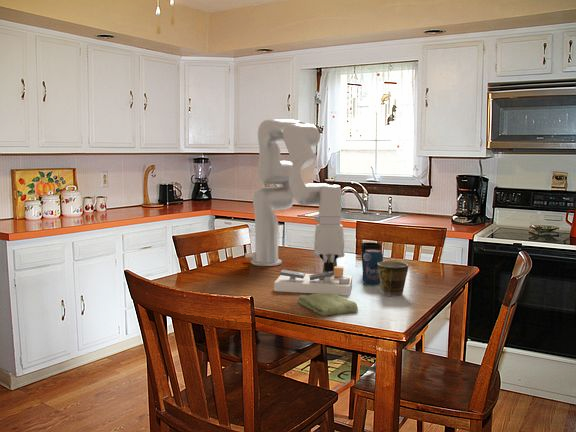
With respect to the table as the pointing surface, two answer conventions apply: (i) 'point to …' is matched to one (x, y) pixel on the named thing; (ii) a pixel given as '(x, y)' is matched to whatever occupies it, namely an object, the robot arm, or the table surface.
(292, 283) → the panel
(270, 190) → the robot arm
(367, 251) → the soda can
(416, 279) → the table surface
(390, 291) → the ceramic cup
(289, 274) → the rocker left
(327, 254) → the brown upright piece
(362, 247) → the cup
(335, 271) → the fader knob
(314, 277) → the rocker right
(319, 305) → the washcloth
